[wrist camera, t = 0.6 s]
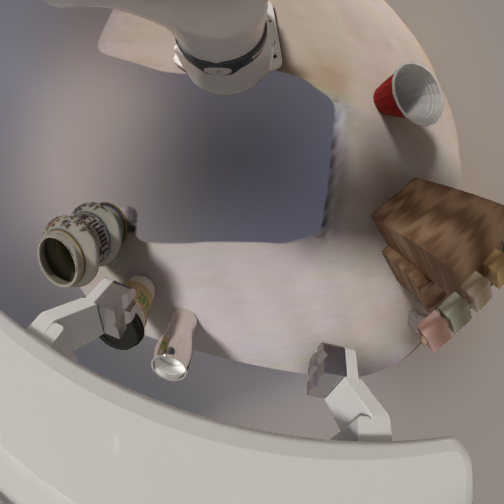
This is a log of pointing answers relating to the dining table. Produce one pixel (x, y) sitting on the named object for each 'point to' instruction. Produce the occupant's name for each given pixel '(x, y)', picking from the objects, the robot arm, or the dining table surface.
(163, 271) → the dining table surface
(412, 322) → the lighter
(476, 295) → the bead bar
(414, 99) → the plastic cup
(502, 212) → the walnut display stand
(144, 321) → the coffee cup
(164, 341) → the beer glass
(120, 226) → the apothecary jar
